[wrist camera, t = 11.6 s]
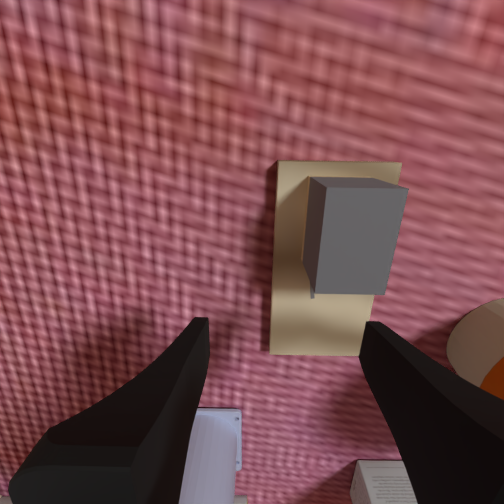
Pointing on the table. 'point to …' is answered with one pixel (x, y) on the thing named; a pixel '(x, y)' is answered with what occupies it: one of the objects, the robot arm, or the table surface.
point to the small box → (381, 483)
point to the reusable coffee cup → (480, 347)
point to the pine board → (294, 274)
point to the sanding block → (351, 233)
